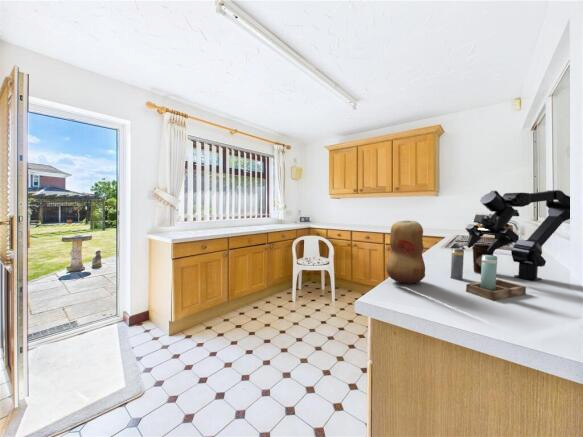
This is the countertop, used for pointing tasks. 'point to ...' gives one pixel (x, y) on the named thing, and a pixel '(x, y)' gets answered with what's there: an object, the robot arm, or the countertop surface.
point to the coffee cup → (479, 255)
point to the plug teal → (488, 272)
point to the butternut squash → (406, 252)
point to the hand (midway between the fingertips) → (477, 249)
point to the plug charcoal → (457, 264)
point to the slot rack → (497, 290)
